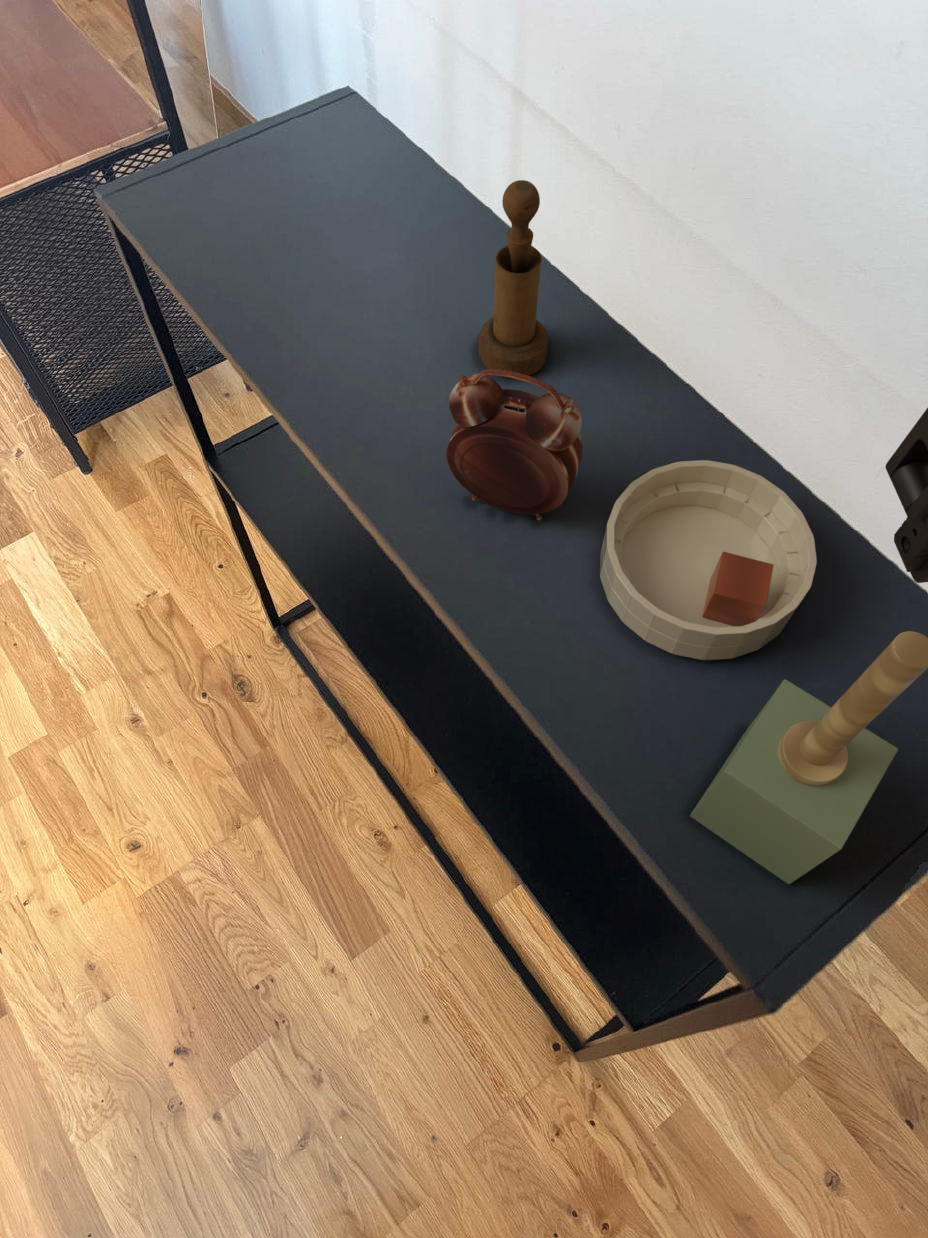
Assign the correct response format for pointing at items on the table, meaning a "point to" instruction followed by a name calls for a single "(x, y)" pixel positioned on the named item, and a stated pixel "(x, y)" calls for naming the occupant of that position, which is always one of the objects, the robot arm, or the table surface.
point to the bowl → (702, 555)
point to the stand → (789, 791)
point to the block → (737, 590)
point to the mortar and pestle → (516, 292)
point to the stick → (852, 713)
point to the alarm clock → (514, 443)
